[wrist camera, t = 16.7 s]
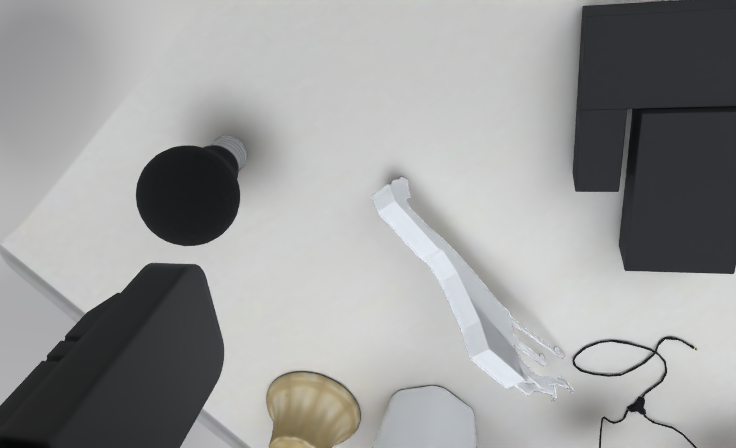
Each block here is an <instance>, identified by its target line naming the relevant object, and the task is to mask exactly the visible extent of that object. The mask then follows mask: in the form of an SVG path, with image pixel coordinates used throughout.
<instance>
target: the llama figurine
mask: <svg viewBox="0 0 736 448" xmlns="http://www.w3.org/2000/svg"><path fill="white" fill-rule="evenodd" d="M408 183H409V181H408V180H406V179H405V178H403V177H400V178H399V179H398V180H393V182H392V183H391V185H390V184H388V185H386V186H385V187H383V188H382V189H381V190H379V191H378V192H377V193H375V194H374V195H372V199H373V202H374V204H375V207H376V210H377V212H378V214H379V215H380V216H381V217H382V219H383V220H384V221H385V222H386V223H387V224H388V225H389V226H390V227H391V228H392V229H393V230H394V231H395V232H396V234H397V235H398V236H399V237H400V238H401V239H402V240H403V241H404V242H405V243H406V244H407V245H408V246H409V247H410V249H411V250H412V251H413V252H414V253H415V254H416V255H417V256H418V257H419V258H420V259H421V260H423V261H425V262H426V263H427V264H428V266H429V267H430V269H431V270H432V272H433V273H434V275H435V276H436V278H437V280H438V281H439V283H440V285H441V287H442V289H443V291H444V293H445V296H446V298H447V300H448V302H449V304H450V307H451V309H452V311H453V313H454V315H455V318H456V320H457V322H458V324H459V327H460V329H461V331H462V335H463V338H464V341H465V345H466V348H467V352H468V355H469V358H470V359H471V360H472V361H473V362H474V363H475V364H477V365H478V366H479V367H480V368H481V369H483V370H484V371H485V372H486V373H487V374H489V375H490V376H491V377H492V378H493V379H495V380H496V381H497V382H498V383H499V384H501V385H502V386H503V387H504V388H505V389H509V388H512V387H514V386H516V387H517V388H518V389H520V390H521V391H522V392H523V393H525V394H526V395H527V396H528V395H530V394H531V393H532V392H534V391H538V392H542V393H546V394H551V401H554V399H556V385H558V386H562V387H566V388H567V389H568V390H569V391H570V392H571V393H573V392H574V389H573V388H572V387H571V386H570V385H569V383H568V382H567V381H566V380H565V379H563V378H562V377H561V376H559V377H558V379H555V378H551V377H541V376H537V375H536V374H535V373H534V372H533V371H532V370H531V369H530V368H529V367H528V366H527V365H526V364H525V363H524V362H523V360H522V359H521V357H520V355H519V354H518V352H517V351H516V349H515V348H514V346H515V347H517V348H518V349H519V350H521V351H522V352H524V353H525V354H527V355H528V356H529V357H531V358H532V359H534V360H535V361H537V362H538V363H539V364H541V365H542V366H547V364H546V361H545V359H544V356H543V353H542V354H539V355H538V354H536V353H535V352H534V351H532V350H531V349H530V348H529V347H527V346H526V345H525V344H523V343H522V342H521V341H520V340H518V339H517V338H516V337H515V334H514V330H513V326H512V324H513V325H514V326H515V327H516V328H517V329H519V330H521V331H522V332H524V333H525V334H527V335H528V336H530V337H532V338H533V339H534V340H536V341H537V342H538V343H540V344H541V345H543V346H544V347H545V348H547V349H548V350H549V351H551V352H552V353H554V354H555V355H556V356H558V357H559V358H562V359H563V358H564V357H565V356H564V354H563V353H562V352H561V351H560V350H559V348H558V347H557V346H556V347H555V348H552V347H551V346H550V345H548V344H547V343H545V342H544V341H543V340H541V339H540V338H539V337H537V336H536V335H534V334H533V333H532V332H530V331H529V330H528V329H526V328H525V327H524V326H523V325H521V324H520V323H519V322H518V321H516V320H515V319H514V318H513V317H512V316H511V314H510V313H509V311H508V309H506V308H505V307H504V306H503V305H502V304H501V303H500V302H499V301H498V300H497V299H496V297H495V296H494V295H493V294H492V293H491V291H490V290H489V289H488V288H487V287H486V285H485V284H484V283H483V282H482V281H481V280H480V278H479V277H478V276H477V275H476V274H475V272H474V271H473V270H472V269H471V268H470V266H469V265H468V264H467V263H466V262H465V261H464V260H463V258H462V257H461V256H460V255H459V254H458V253H457V252H456V251H455V250H454V249H453V248H452V247H451V246H450V245H449V244H448V243H447V242H446V241H445V240H444V239H443V238H442V237H441V236H439V235H438V234H437V233H436V232H435V231H434V230H432V229H431V228H430V227H429V226H428V225H427V224H426V223H425V222H424V221H423V220H422V219H421V218H420V217H419V216H418V215H417V214H416V213H415V212H414V211H413V210H412V209H410V206H409V204H408V201H407V199H409V198H410V197H412V196H410V193H409V188H408ZM528 378H529V379H530V380H531V381H532V382H533V383H532V384H528V383H525V381H527V380H529V379H528ZM550 384H551V386H550Z"/></svg>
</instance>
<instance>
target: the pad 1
mask: <svg viewBox="0 0 736 448" xmlns="http://www.w3.org/2000/svg"><path fill="white" fill-rule="evenodd" d="M577 95H578V96H577V111H576V128H575V145H574V161H573V178H574V185H575V191H576V192H618V191H619V186H620V176H621V166H622V156H623V145H624V135H625V125H626V115H627V109H641V108H682V107H724V106H736V0H678V1H661V2H644V3H627V4H610V5H593V6H583V9H582V26H581V43H580V60H579V77H578V94H577Z"/></svg>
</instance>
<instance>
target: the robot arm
mask: <svg viewBox="0 0 736 448" xmlns="http://www.w3.org/2000/svg"><path fill="white" fill-rule="evenodd" d="M223 361H224V343H223V338H222V335H221V331H220V327H219V324H218V320H217V316H216V312H215V309H214V305H213V301H212V298H211V294H210V290H209V287H208V283H207V279H206V276H205V273H204V271H203V270H202V268H201V267H200V266H198V265H196V264H169V263H150V264H148V265H146V266H145V267H144V268H143V269H142V270H141V271H140V272H139V273H138V274H137V276H136V277H135V278H134V279H133V280H132V281H131V282H130V283H129V284H128V286H127V287H126V288H125V289H124V290H123V291H122V292H121V293H117V294H115V295H113V296H112V297H110V298H109V299H107V300H106V301H104V302H103V303H101V304H100V305H98V306H96V307H95V308H93V309H92V310H90V311H89V312H87V313H86V314H85V315H84V316H83V317H82V318H81V320H80V321H79V322H78V323H77V324H76V325H75V326H74V327H73V328H72V329H71V330H70V331H69V332H68V334H67V335H66V336H65V341H60V342H59V343H58V344H57V345H56V346H55V348H54V349H53V350H52V351H51V352H50V353H49V354H48V355H47V360H46V361H42V362H41V363H40V364H39V365H38V366H37V367H36V368H35V369H34V370H33V371H32V372H31V373H30V374H29V376H28V377H27V378H26V379H25V380H24V381H23V382H22V383H21V384H20V385H19V386H18V387H17V388H16V389H15V391H14V392H13V393H12V394H11V395H10V396H9V397H8V398H7V399H6V400H5V401H4V402H3V404H2V405H1V406H0V448H180V446H181V445H182V443H183V441H184V439H185V438H186V436H187V434H188V432H189V431H190V429H191V427H192V425H193V423H194V422H195V420H196V418H197V416H198V415H199V413H200V411H201V409H202V408H203V406H204V404H205V402H206V401H207V399H208V397H209V395H210V394H211V392H212V390H213V388H214V387H215V385H216V383H217V381H218V379H219V377H220V374H221V371H222V367H223Z"/></svg>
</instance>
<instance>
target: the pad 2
mask: <svg viewBox="0 0 736 448" xmlns="http://www.w3.org/2000/svg"><path fill="white" fill-rule="evenodd" d="M619 247H620V252H621V256H622V260H623V265H624V269H625V271H651V272H686V273H720V274H734V271H735V267H736V106H724V107H682V108H641V109H633V112H632V122H631V132H630V142H629V151H628V161H627V171H626V181H625V190H624V200H623V210H622V220H621V229H620V239H619Z"/></svg>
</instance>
